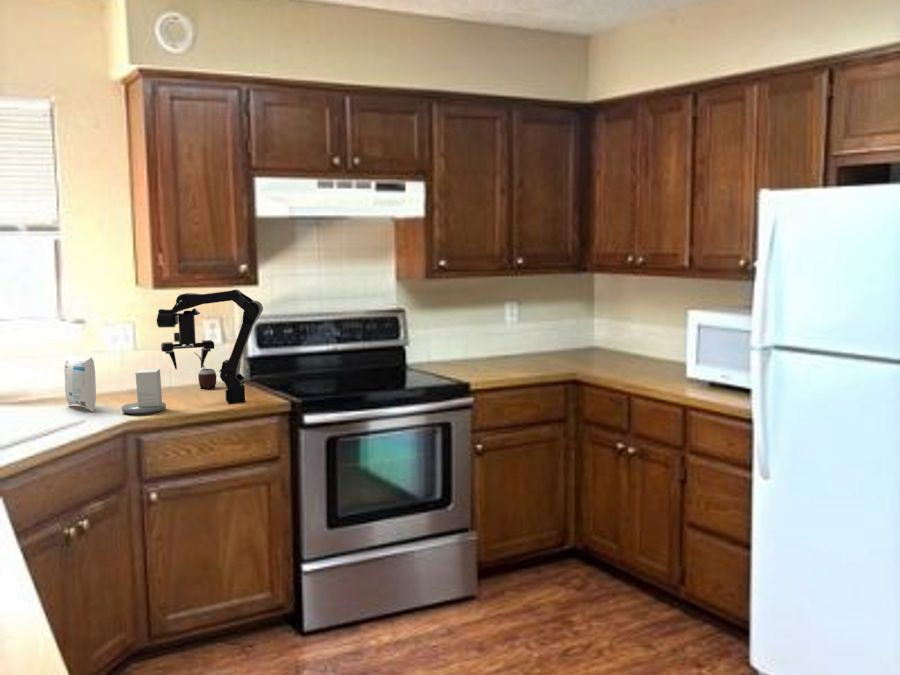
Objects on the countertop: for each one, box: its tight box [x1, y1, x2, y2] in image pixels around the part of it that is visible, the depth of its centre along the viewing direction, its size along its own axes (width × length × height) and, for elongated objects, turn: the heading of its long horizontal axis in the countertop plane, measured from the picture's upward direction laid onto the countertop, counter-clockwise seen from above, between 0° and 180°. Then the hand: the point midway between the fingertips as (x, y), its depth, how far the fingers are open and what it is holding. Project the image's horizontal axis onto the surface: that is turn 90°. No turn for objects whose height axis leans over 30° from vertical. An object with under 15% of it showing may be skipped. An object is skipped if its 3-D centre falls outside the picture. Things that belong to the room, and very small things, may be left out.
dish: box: [121, 401, 167, 415], centre depth 320 cm, size 15×15×2 cm
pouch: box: [64, 352, 97, 413], centre depth 326 cm, size 8×19×20 cm, turn 44°
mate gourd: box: [193, 352, 217, 391], centre depth 364 cm, size 8×8×15 cm
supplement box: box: [135, 368, 163, 407], centre depth 320 cm, size 7×7×13 cm
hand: (188, 368), depth 334 cm, fingers open, 9 cm apart
